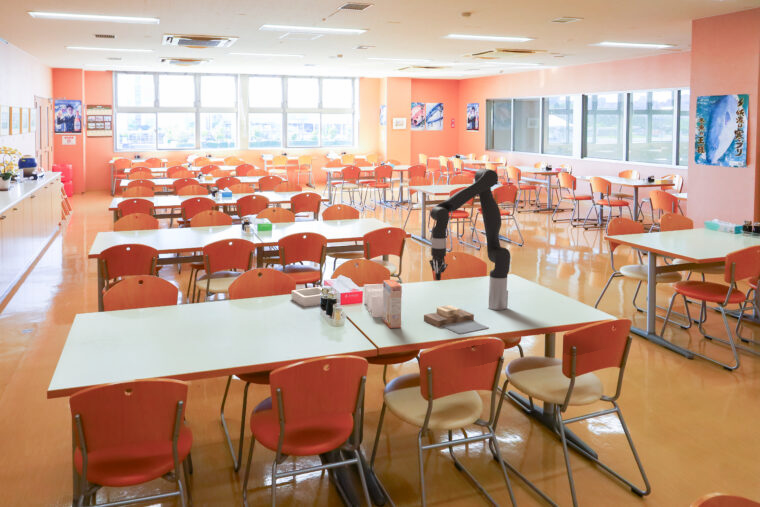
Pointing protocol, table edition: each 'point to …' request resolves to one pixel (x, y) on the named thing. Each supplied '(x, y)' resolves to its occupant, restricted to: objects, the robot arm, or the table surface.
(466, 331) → the rubber mat
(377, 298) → the storage container
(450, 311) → the maple tile
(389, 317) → the cracker box
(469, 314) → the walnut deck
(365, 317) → the table surface
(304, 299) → the holder corral
